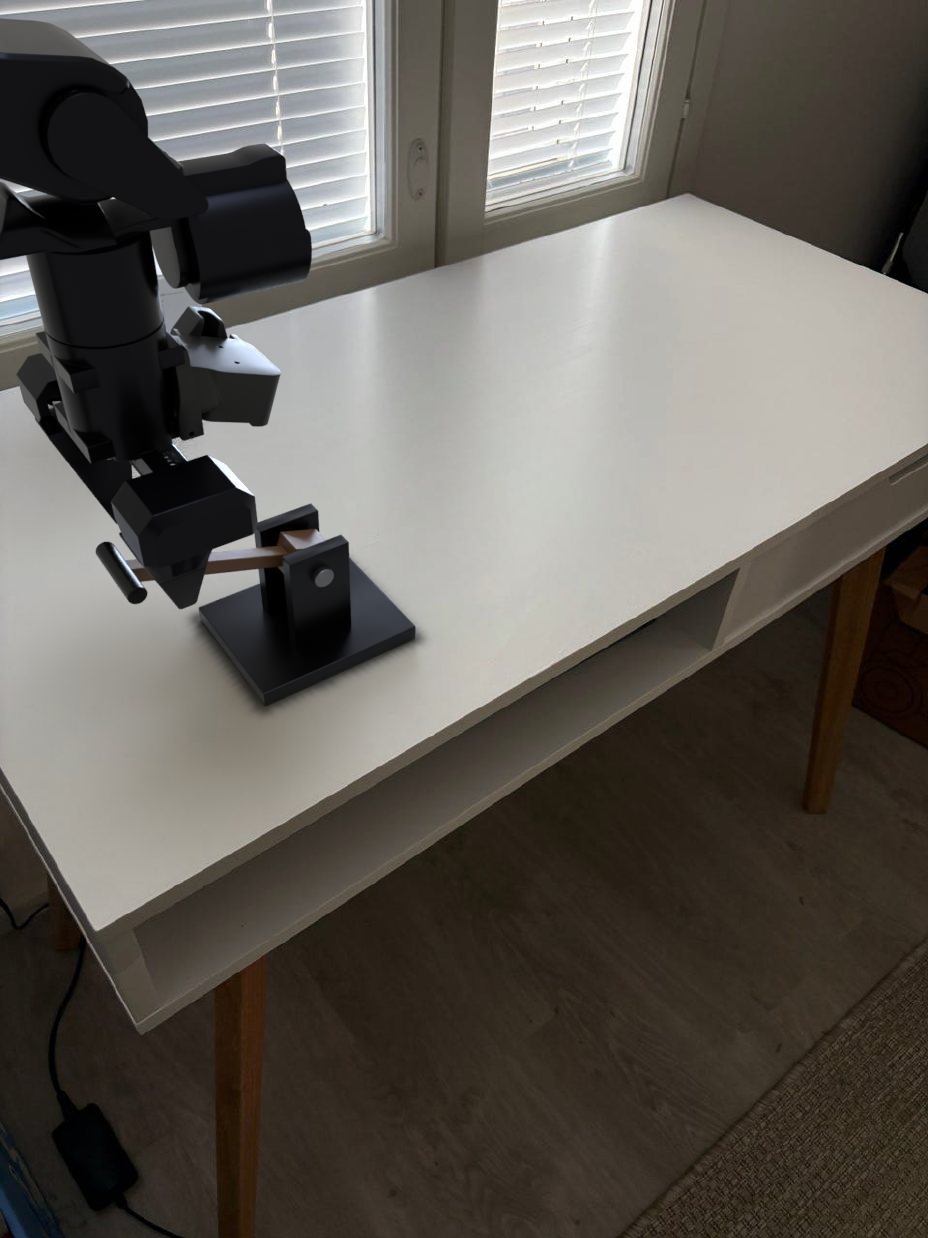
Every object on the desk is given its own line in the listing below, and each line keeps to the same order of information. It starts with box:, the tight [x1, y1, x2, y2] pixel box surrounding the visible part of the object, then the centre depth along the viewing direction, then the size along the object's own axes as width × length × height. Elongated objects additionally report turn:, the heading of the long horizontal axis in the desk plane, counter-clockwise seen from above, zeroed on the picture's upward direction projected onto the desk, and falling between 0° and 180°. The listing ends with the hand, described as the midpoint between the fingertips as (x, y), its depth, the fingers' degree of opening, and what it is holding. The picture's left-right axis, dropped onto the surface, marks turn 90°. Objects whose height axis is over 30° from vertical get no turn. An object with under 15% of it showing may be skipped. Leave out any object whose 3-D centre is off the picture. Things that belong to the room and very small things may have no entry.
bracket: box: [198, 503, 417, 706], centre depth 70 cm, size 12×10×9 cm
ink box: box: [152, 246, 203, 333], centre depth 93 cm, size 8×5×12 cm, turn 25°
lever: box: [95, 529, 327, 605], centre depth 64 cm, size 14×5×2 cm, turn 127°
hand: (154, 561), depth 61 cm, fingers open, 9 cm apart
